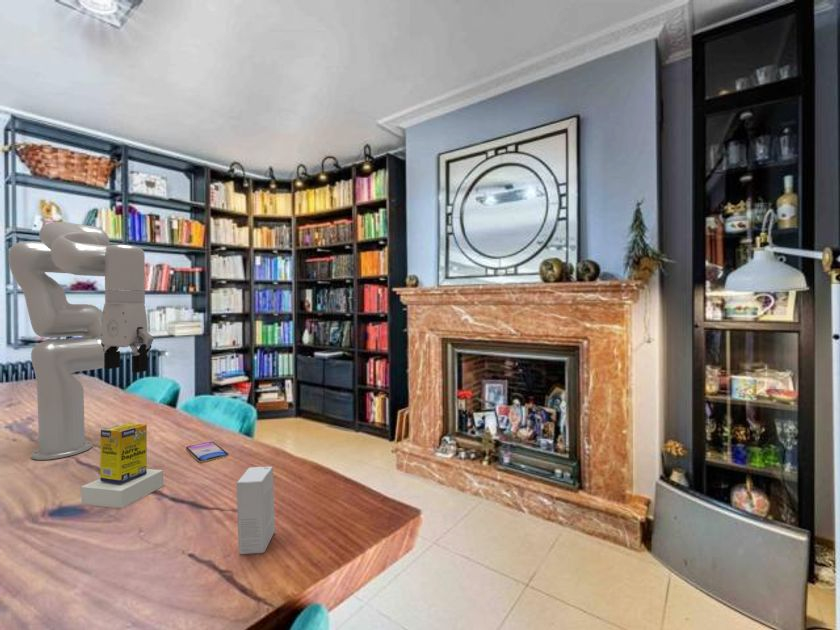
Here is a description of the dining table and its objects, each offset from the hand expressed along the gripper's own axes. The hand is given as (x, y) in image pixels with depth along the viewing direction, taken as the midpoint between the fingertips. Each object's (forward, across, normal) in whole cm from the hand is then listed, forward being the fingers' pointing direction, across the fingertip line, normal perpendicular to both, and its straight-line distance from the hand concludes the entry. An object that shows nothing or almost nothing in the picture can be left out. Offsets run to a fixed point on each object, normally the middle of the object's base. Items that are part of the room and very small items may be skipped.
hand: (125, 369), depth 93 cm
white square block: (+26, +10, -7) cm, 28 cm away
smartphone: (+26, +6, +17) cm, 32 cm away
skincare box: (+24, +50, -11) cm, 57 cm away
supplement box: (+22, +10, -7) cm, 25 cm away
